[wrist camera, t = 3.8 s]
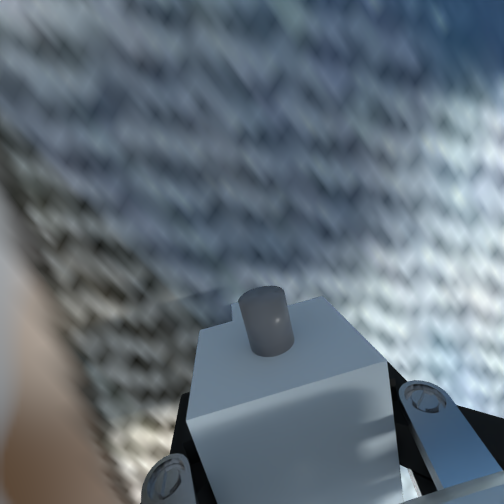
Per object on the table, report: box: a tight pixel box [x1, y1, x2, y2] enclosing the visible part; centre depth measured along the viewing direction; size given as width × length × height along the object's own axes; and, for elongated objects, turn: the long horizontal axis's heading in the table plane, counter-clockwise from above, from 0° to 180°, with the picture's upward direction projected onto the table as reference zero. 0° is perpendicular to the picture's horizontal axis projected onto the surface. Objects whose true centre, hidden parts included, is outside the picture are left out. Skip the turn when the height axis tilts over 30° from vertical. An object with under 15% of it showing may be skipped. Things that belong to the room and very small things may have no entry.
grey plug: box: [186, 286, 404, 504], centre depth 10 cm, size 8×5×8 cm, turn 13°
